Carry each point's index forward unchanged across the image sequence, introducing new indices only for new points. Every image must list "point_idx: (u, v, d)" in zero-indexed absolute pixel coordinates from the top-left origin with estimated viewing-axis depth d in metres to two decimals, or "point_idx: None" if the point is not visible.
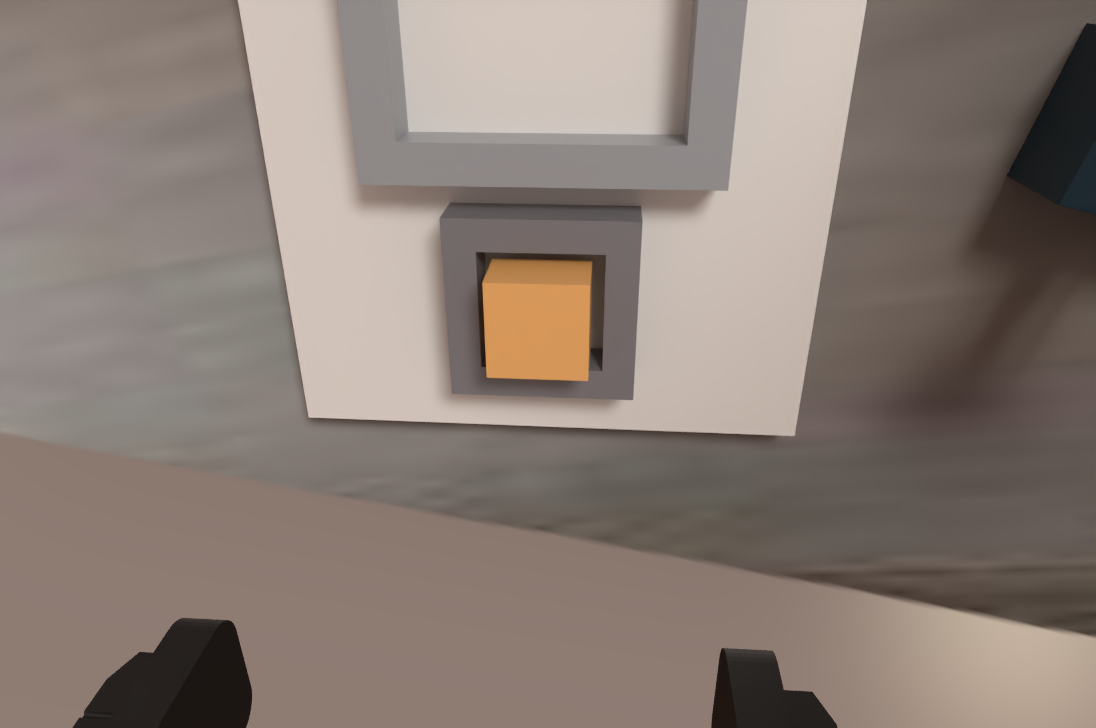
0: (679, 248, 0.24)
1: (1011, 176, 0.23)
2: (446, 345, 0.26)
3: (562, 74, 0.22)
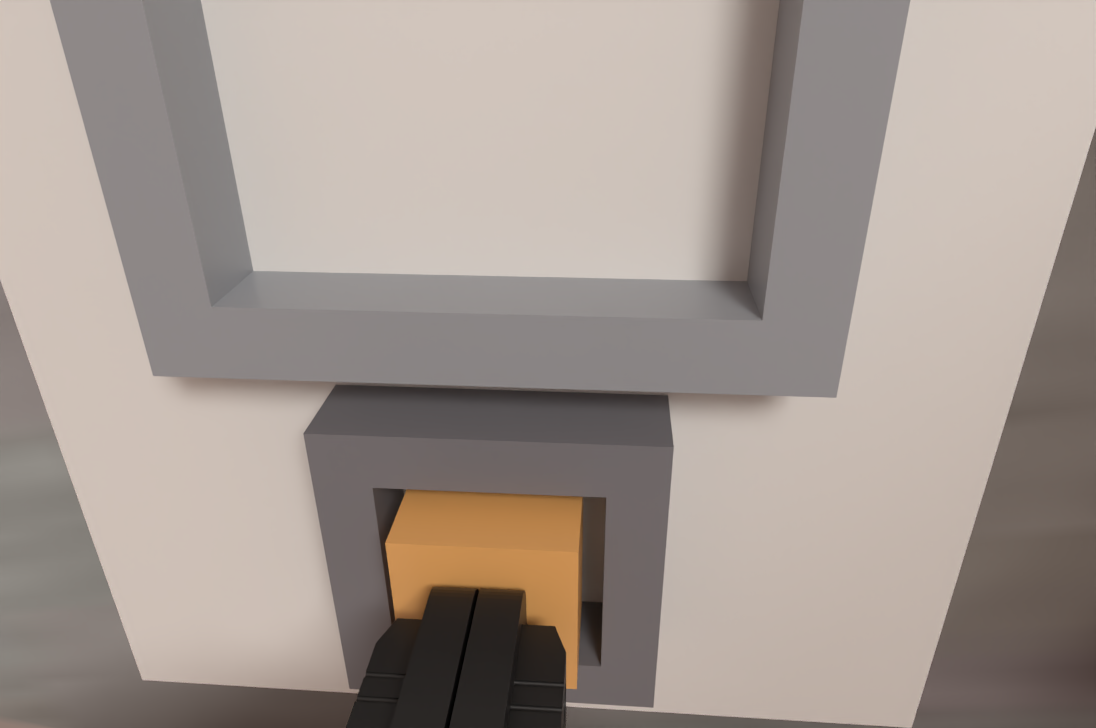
0: (733, 461, 0.14)
1: None
2: None
3: (524, 175, 0.12)
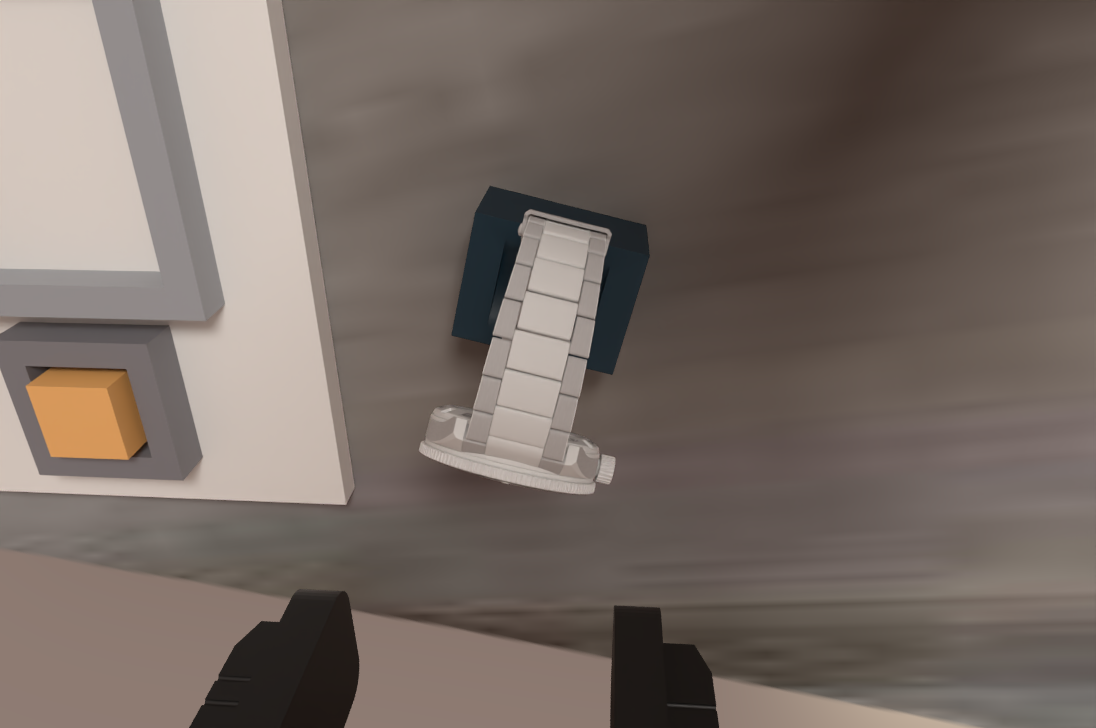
0: (209, 357, 0.29)
1: None
2: None
3: (78, 226, 0.27)
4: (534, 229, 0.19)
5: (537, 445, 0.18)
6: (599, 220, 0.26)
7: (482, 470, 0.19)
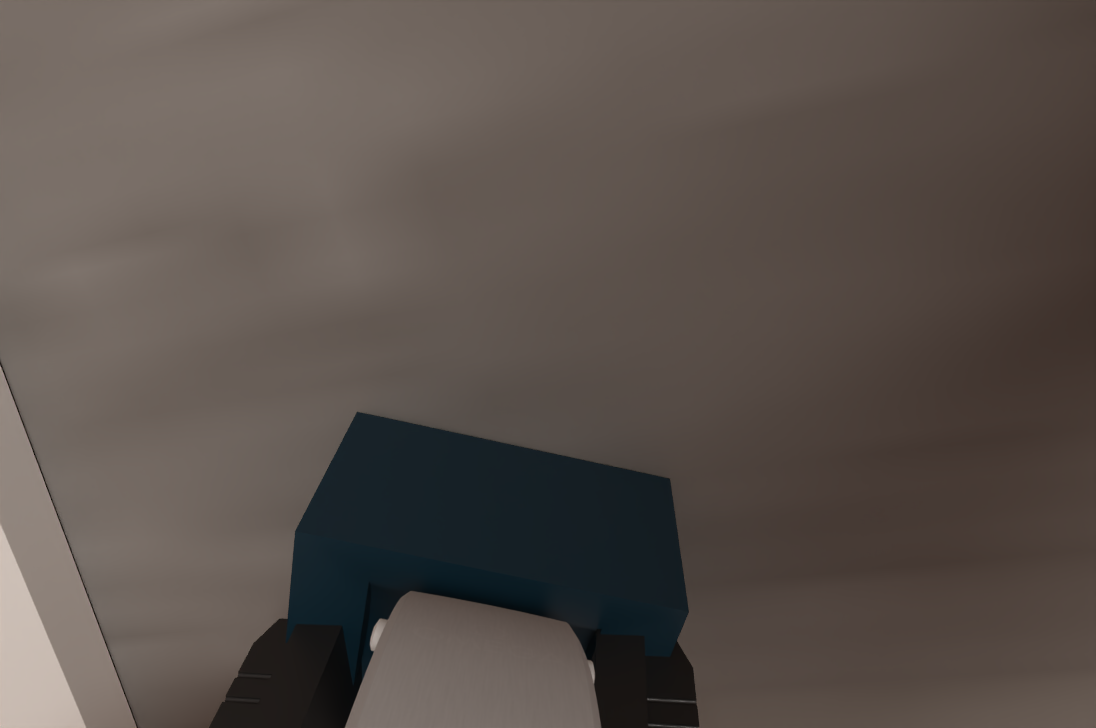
0: None
1: None
2: None
3: None
4: None
5: None
6: (577, 486, 0.13)
7: None
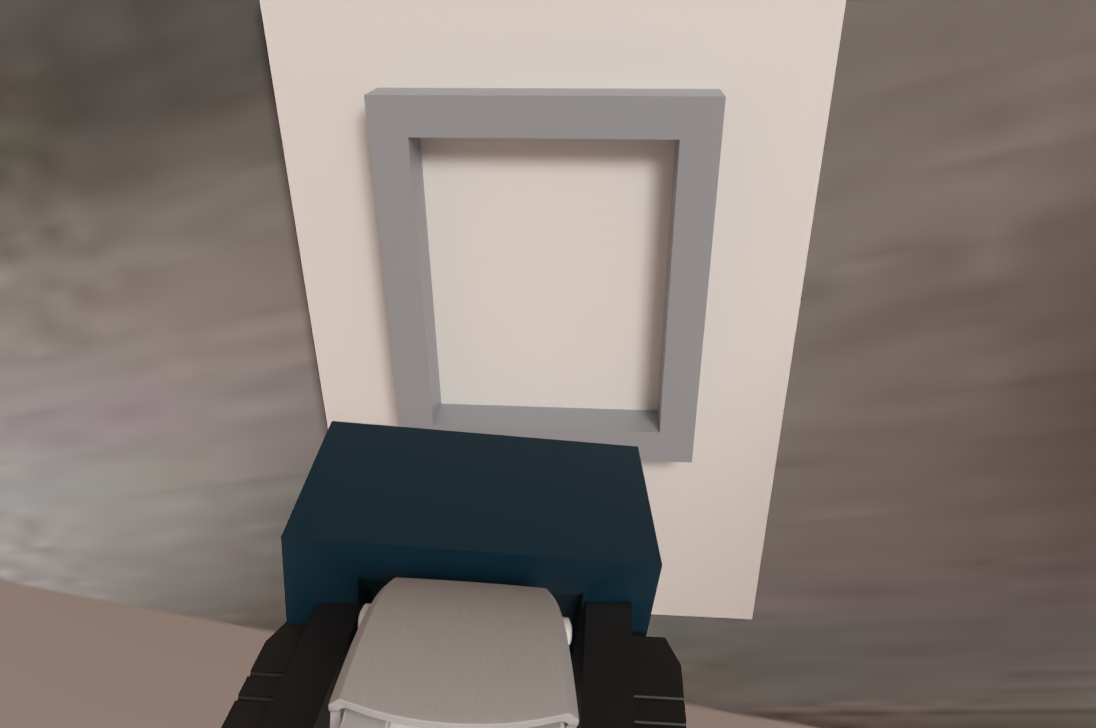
0: (656, 486, 0.30)
1: None
2: None
3: (562, 368, 0.28)
4: None
5: None
6: (549, 464, 0.13)
7: None
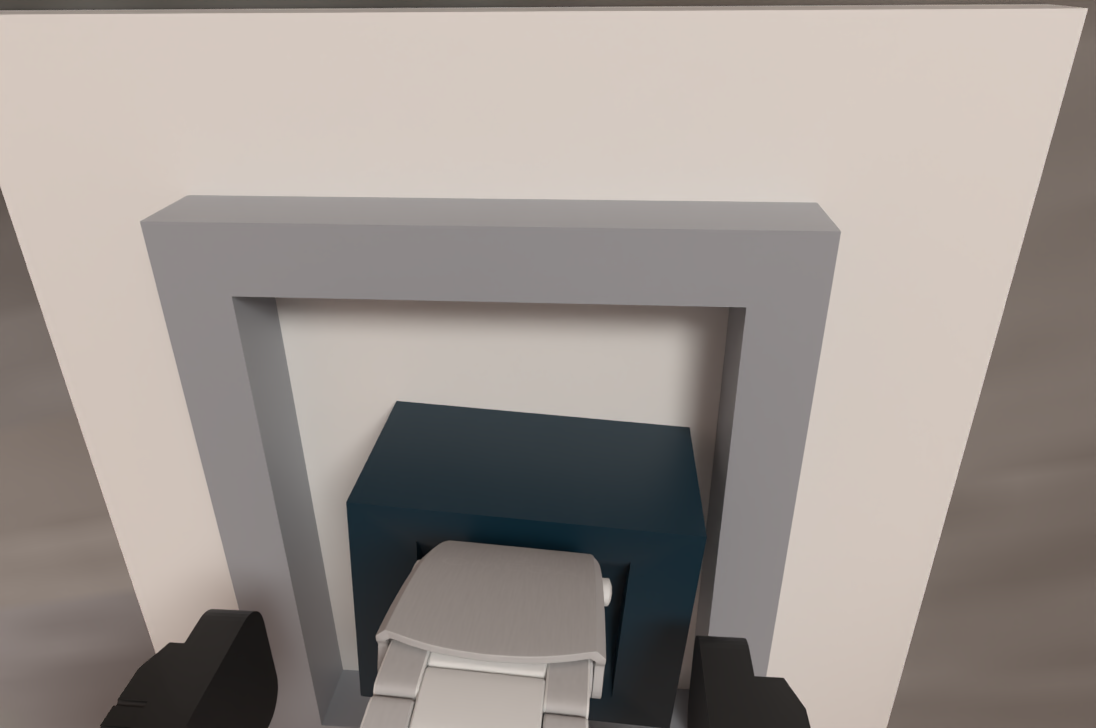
0: None
1: None
2: None
3: None
4: None
5: None
6: (600, 442, 0.14)
7: None
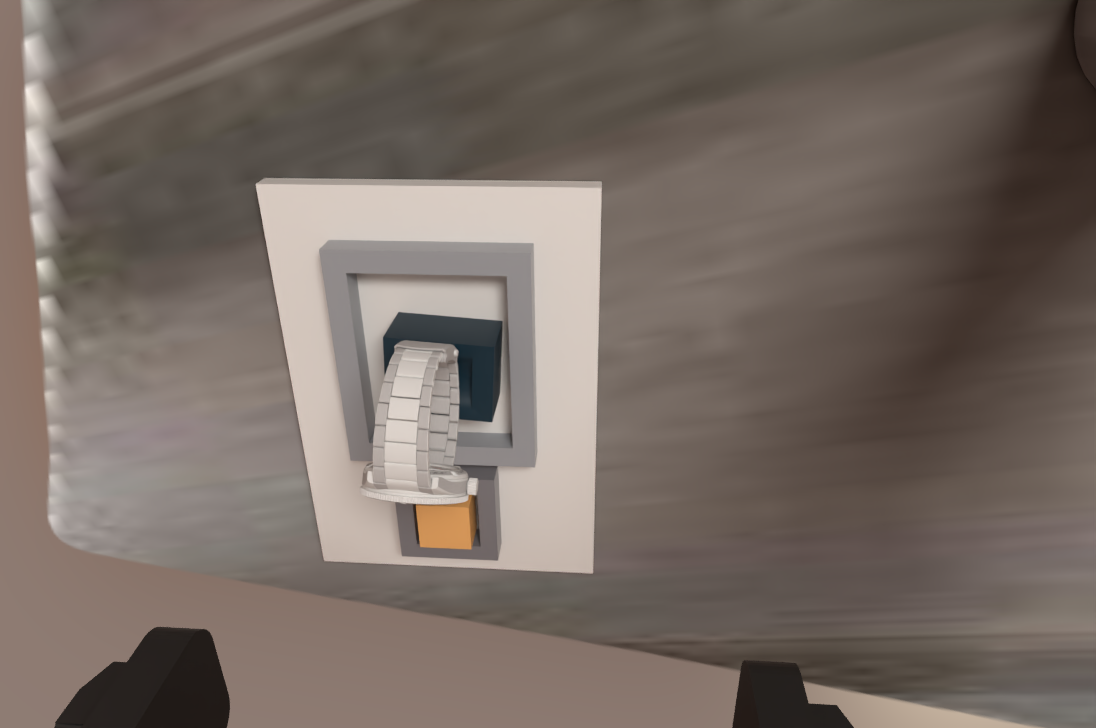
0: (519, 483, 0.46)
1: None
2: None
3: None
4: (395, 358, 0.33)
5: (412, 480, 0.32)
6: (469, 324, 0.40)
7: (388, 498, 0.33)
